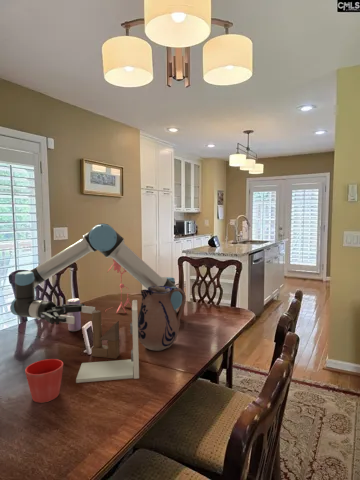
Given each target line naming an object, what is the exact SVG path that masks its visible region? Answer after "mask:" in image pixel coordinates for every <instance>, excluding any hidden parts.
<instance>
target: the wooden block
mask: <svg viewBox="0 0 360 480" xmlns="http://www.w3.org/2000/svg"><path fill="white" fill-rule="evenodd" d="M91 323H92V324H91V326H92V327H91V329H92V347H91V348H90V349H91V351H90V352H91V357H94V358H95V357H98V358H106V359H107V358H108V359H114V360H116V359H118V358H119V357H120V356H121V355H120V354H121V353H120V352H121V351H120V321H119V320H118V321H116V322H115V323H114V324H113V325H112V326H111V327H110V328H109V329H108V330H107V331H106V332H105V333H104V334H103V327H102V310H99V309H98V310H96V309H95V311H93V312H92V314H91ZM103 341H107V344H105V345H103Z"/></svg>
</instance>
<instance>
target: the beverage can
mask: <svg viewBox="0 0 360 480" xmlns="http://www.w3.org/2000/svg"><path fill="white" fill-rule="evenodd" d="M66 304H67V305H69V304H81V300H80V298H76V297H75V298H68V299H67V302H66ZM67 316H73V317H75V324H69V323H67V327H68V328H67V331H69V332H77V331H80V330H81V328H82V321H81V312H71V313H67Z"/></svg>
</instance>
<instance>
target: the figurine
mask: <svg viewBox="0 0 360 480" xmlns="http://www.w3.org/2000/svg"><path fill="white" fill-rule="evenodd" d="M112 262H113V263H112V264H111V266H110V267H109V268H108V270H107V271H106V273H109V272H110V270H111V269H112V268H113V270H114V272H115V271H116V272H117V273H120V284H119V289H123V288H126V289H128V287H126V286H125V284H124V283H122V276H123V275H124V274H125V273H128V272H127V271H126V270H125V269H124V268H123V267H122V266H121V265H119V264H118V263H117V262H116V261H115V260H114V259H113V258H112ZM121 268H123V270H124V271H121ZM122 294H123V292H122V290H120V299H122ZM128 304H129V306H130V308H131V309H132V303H131V302H130V298H129V294H127V298H126V301H125V302H124V303H123V302H120V304H119V306H118V308H117V310H116V314H118V312H119V311H120V309H121V308H122V309H123V312H124V313H125V314H126V313H127V311H126V309H125V307H126V306H127V305H128ZM111 308H113V307H110V309H111ZM105 311H108V308H107V309H106V310H105Z"/></svg>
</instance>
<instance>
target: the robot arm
mask: <svg viewBox="0 0 360 480" xmlns="http://www.w3.org/2000/svg"><path fill="white" fill-rule="evenodd" d="M97 251H99V252H100V254H102V255H103V256H104V257H105V258H106V259H107V258H112V260H113V259H114V260H115V261H116V262H117V263H118V264H119V265H121V268H124V269H125V270H126V271H127V272H126V273H128V274H129V275H130V276H132V277H133V278H134V279H135V280H136V281H137V282H138V283H140V284H141V285H142V286H143V287H144V288H145V289H146V290H148V287H151V286H167V287H171V288H178V286H176V280H175V278H174V277H173V276H172V277H171V276H168V277H167V276H164V277H162V276H160V275H159V273H157V272H156V271H155V270H154V269H153V268H152V267H151V266H150V265H148V263H147V262H145V261H144V260H143V259H142V258H141V257H139V256H138V255H137V254H136V253H135V252H134V251H133V250H132V249H131V248H130V247H128V245H127V244H125V239H124V237H122V235H121V234H119V232H117V231H116V230H115V229H114V228H113V226H111V225H109V224H107V223H98V224H96V225H94V226H93V227H92V228H91V229H90V230H89V231H88V232H87V233H85V234H83V235H82V238H80V239H79V240H78V241H76V242H75V243H73V244H72V245H70V246H68V247H67V248H65V249H63V250H62V251H59V253H56V254H55V255H54V256H52V257H50V258H49V259H47V260H45V261H44V262H42V263H41V264H39V265H37V266H36V267H35V268H34V267H33V269H31V270H28V271H27V270H26V271H19V272H17V273H15V274H14V287H15V299H13V300H12V301H11V305H10V312H11V313H12V314H13V315H14V316H19V317H25V318H32V319H37V320H44V321H46V322H48V323H49V324H51V325H54V324H55V325H59V324H60V323H62V324H68V323H69V324H75V317H73V316H68V313H71V312H80V313H84V314H90V315H92V312H93V311H96V306H86V304H85V303H80V304H69V305H67V303H66V304H65V303H63V304H61V305H57V304H56V303H54V302H53V301H49V300H48V301H46V300H41V299H40V300H39V299H36V294H35V293H36V292H35V288H36V287H37V286H39V285H40V284H42V283H44V282H45V281H46V280H48V279H49V278H51V277H53V276H54V275H55V274H56V275H57V274H58V273H59V272H61V271H63V270H64V269H65V268H67V267H68V266H70V265H72V264H74V263H76V262H77V261H78V260H80V259H82V258H83V257H85V256H87V255H88V254H89V253H91V252H92V253H95V252H97ZM124 269H123V270H124ZM171 303H172V305H173V308H174V310H175V312H176V313H177V312H178V310H179V309H180V306H181V303H182V295H181V293H180V292H178V291H176V292H173V293H172V296H171ZM177 309H178V310H177Z"/></svg>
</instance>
